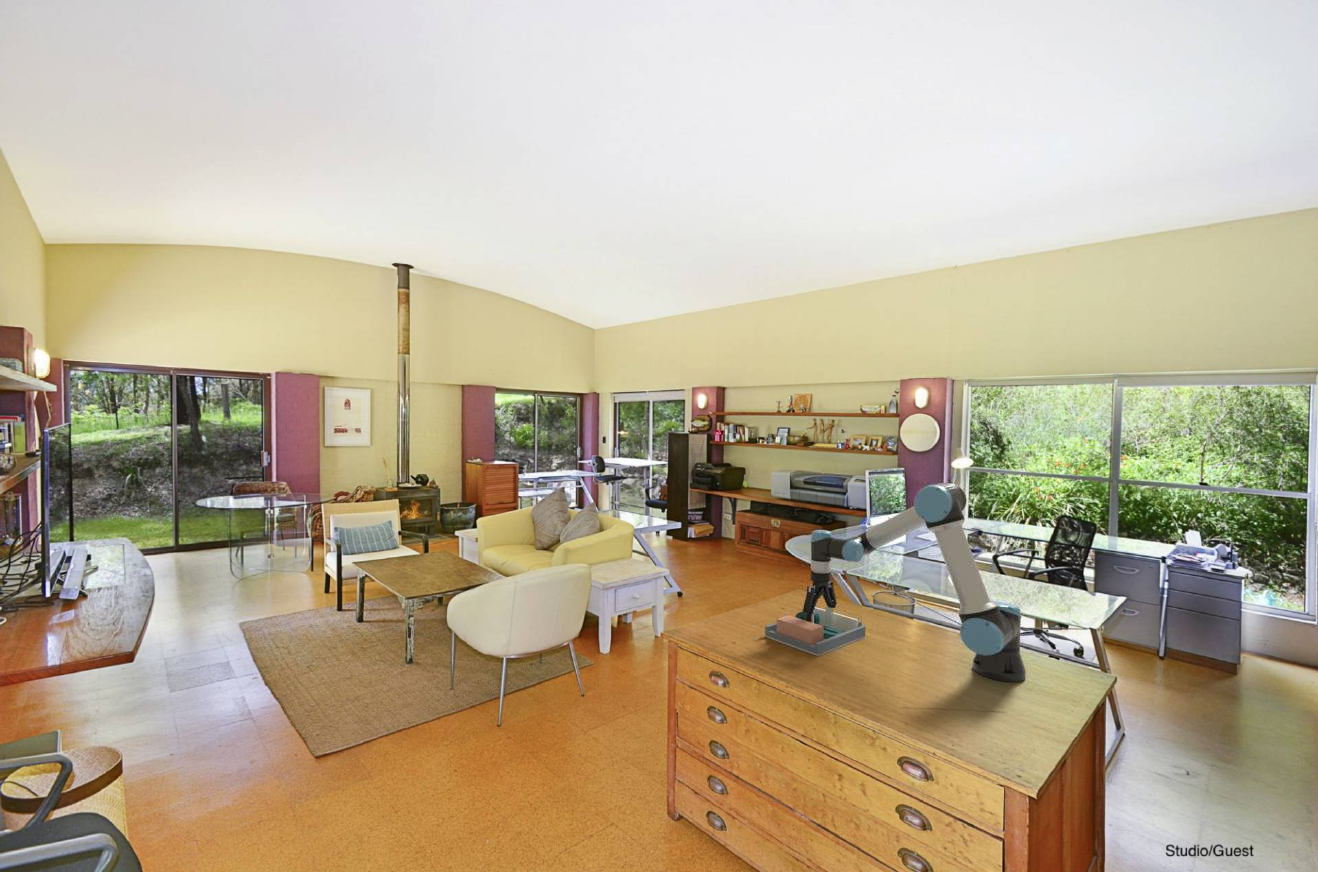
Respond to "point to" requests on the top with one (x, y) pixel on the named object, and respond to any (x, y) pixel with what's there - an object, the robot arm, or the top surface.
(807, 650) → the grey tray
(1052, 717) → the top surface
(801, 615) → the bracket
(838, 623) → the pusher plate
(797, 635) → the box
